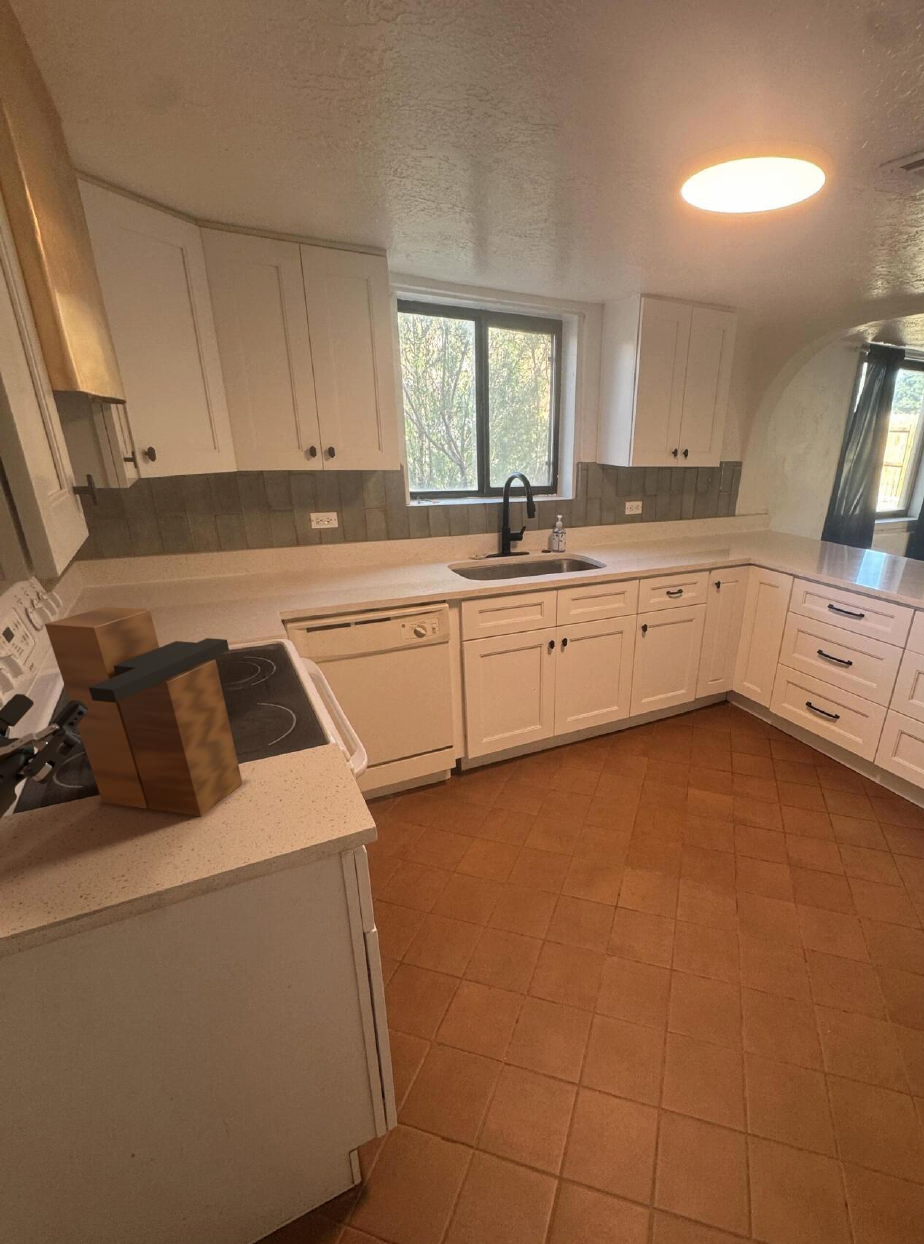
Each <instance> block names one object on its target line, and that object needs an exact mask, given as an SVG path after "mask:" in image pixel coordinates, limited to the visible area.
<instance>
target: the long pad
mask: <svg viewBox="0 0 924 1244" xmlns="http://www.w3.org/2000/svg"><path fill="white" fill-rule="evenodd" d="M229 651H230V647H229V643H228V639H225V638H212V637H210V638H209V637H207V638H204V639H202V640H199V641H197V642H195V643H194V644H192V645H190V646H187V647H185V648H182V649H180V650H178V651H175V652H173V653H170V654H168V655H166V656H163V657H161V658H158V659H156V660H154V661H151V662H149V663H146V664H144V665H142V666H139V667H137V668H134V669H132V670H130V671H127V672H125V673H123V674H120V675H118V676H115V677H113V678H111V679H108V680H106V681H103V682H101V683H99V684H96V685H94V686H91V687H89V690H90V694H91V697H92V700H93V701H103V702H113V703H117V702H119V701H121V700H123V699H126V698H128V697H130V696H132V695H134V694H136V693H138V692H141V691H143V690H145V689H147V688H149V687H151V686H153V685H156V684H158V683H160V682H162V681H164V680H166V679H168V678H171V677H173V676H175V675H177V674H179V673H181V672H183V671H186V670H188V669H190V668H192V667H194V666H196V665H199V664H201V663H203V662H205V661H207V660H209V659H213V658H216V657H218V656H220V655H222V654H224V653H227V652H229Z"/></svg>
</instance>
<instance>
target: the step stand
mask: <svg viewBox="0 0 924 1244" xmlns="http://www.w3.org/2000/svg"><path fill="white" fill-rule="evenodd" d="M44 627H45V630H46V633H47V635H48V639H49V642H50V646H51V648H52V651H53V654H54V657H55V660H56V664H57V667H58V669H59V672H60V676H61V679H62V682H63V685H64V689H65V691H66V694H67V697H68V699H69V702H70V701H71V700H80V701H81V702H82V703H83V704H85V705H86V706H87V707H88V711H87V714H86V715H85V716H84V718H83V719H82V720H81V721H80V723H79V724H78V725H77V728H78V732H79V734H80V737H81V740H82V743H83V746H84V749H85V752H86V756H87V758H88V759H87V760H88V761H89V765H90V768H91V771H92V774H93V777H94V780H95V783H96V786H97V790H98V793H99V795H100V798H101V802H102V803H104V804H111V805H118V806H124V807H125V806H126V807H133V808H139V809H149V810H154V811H159V812H161V811H162V812H168V813H175V814H182V815H190V816H196V817H202V816H203V815H205V814H206V813H207V812H208V811H209V810H211V809H212V808H214V807H215V806H216V805H217V804H218V803H220V802H221V801H222V800H223V799H225V798H226V797H228V795H230V794H231V793H232V792H233V791H235V790H236V789H237V788H238V787H240V786H241V785H242V784H243V779H242V775H241V769H240V765H239V760H238V756H237V753H236V752H237V751H236V748H235V742H234V738H233V734H232V730H231V725H230V720H229V715H228V710H227V706H226V701H225V698H224V692H223V688H222V685H221V680H220V674H219V669H218V666H217V665H218V664H217V661H216V659H213V658H211V659H209V660H207V661H205V662H203V663H201V664H199V665H196V666H194V667H192V668H190V669H188V670H186V671H183V672H181V673H179V674H177V675H175V676H173V677H171V678H168V679H166V680H164V681H162V682H160V683H158V684H156V685H153V686H151V687H149V688H147V689H145V690H143V691H141V692H138V693H136V694H134V695H132V696H130V697H128V698H126V699H123V700H121V701H119V702H117V703H113V702H103V701H93V700H92V697H91V694H90V690H89V687H91V686H94V685H96V684H99V683H101V682H103V681H106V680H108V679H111V678H113V677H115V676H116V673H115V670H114V667H113V666H115V665H117V664H120V663H122V662H125V661H127V660H130V659H132V658H135V657H137V656H140V655H142V654H145V653H147V652H150V651H152V650H155V649H157V648H160V644H159V640H158V636H157V633H156V629H155V625H154V621H153V617H152V614H151V610H150V609H146V608H145V609H144V608H129V607H128V608H127V607H113V606H111V607H110V606H103V607H99V608H96V609H91V610H89V611H85V612H82V613H78V614H75V615H72V616H71V615H70V616H68V617H64V618H61V619H58V620H53V621H50V622H48V623H44Z"/></svg>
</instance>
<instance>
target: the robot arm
mask: <svg viewBox="0 0 924 1244" xmlns="http://www.w3.org/2000/svg"><path fill="white" fill-rule="evenodd" d="M34 704H35V703H34V700H32V699H31V698H30V697H28V696H27V695H26V694H23V693H16V694H14V695H13V696H12V697H11V698H10V699H9V700H8V701H7V702H6V703H5V705H3V707H1V709H0V820H1V819H2V818H3V816H4V815H5V814H6V813H7V812H8V811H9V810H10V808H11V807H12V806H13V804H14V803H15V802H16V800H17V798H18V795H17V793H16V787H17V786H18V785H19V784H20V783H21V782H23V781H24V780H25V779H32V780H33V781H35V782H37V783H38V784H40V785H45V784H47V783H48V782H49V781H50V780H51V779H52V778H53V777H54V776H55V775H56V773H57V772H58V771H59V770H60V769H61V767H62V766H63V765H64V764H65V763H66V762H67V760H69V758H70V757H71V756H72V754H73V753H74V752H75V751H77V749H78V748H79V746H80V745H81V742H82V741H81V740H80V739H78V738H77V737H76V736H74V735H73V731H74V730H75V729H76V728H77V727H78V724H79V723H80V721H81V720H82V719H83V718H84V716H85V715H86V714H87V711H88V707H87V706H86V705H85V704H83V703H82V702H81V701H80V700H71V701H70V700H69V701H68V702H67V704H66V705H65V706H64V707H63V708H62V710H61V711H60V712H59V713H58V714H57V715H56V716H55V718H54V719H53V720H52V721H51V724H50V725H48V726H47V727H45V728H43V729H41V730H40V731H38V732H35V733H34V732H30V733H27V734H26V735H23V736H22V737H12V738H11V737H10V733H11V732H10V731H11V728H12V727H13V728H14V727H15V726H16V725H17V724H18V723H19V722H20V721H21V719H22V718H23V717H24V716H25V715H26V714H27V713H28V712H29V710H30V709H31V708H32V707H33V706H34ZM10 727H11V728H10ZM49 737H51V738H50V740H49V741H46V739H48V738H49ZM63 745H64V747H63V748H62V749H60V751H59V752H58V751H57V749H58V748H60V747H61V746H63ZM35 749H36V750H39V751H37V752H36V753H35Z"/></svg>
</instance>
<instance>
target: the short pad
mask: <svg viewBox="0 0 924 1244" xmlns="http://www.w3.org/2000/svg"><path fill="white" fill-rule="evenodd" d="M194 643H196V641H195V642H194V641H193V642H192V641H180V640H175V641H173V642H169V643H167V644H165V645H162V646H159V648H157V649H155V650H152V651H150V652H147V653H145V654H142V655H140V656H137V657H135V658H132V659H130V660H127V661H125V662H122V663H120V664H117V665H115V666H113V667H114V670H115V673H116V676H118V675H120V674H123V673H125V672H127V671H130V670H132V669H134V668H137V667H139V666H142V665H144V664H146V663H149V662H151V661H154V660H156V659H158V658H161V657H163V656H166V655H168V654H170V653H173V652H175V651H178V650H180V649H182V648H185V647H187V646H190V645H192V644H194Z"/></svg>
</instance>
